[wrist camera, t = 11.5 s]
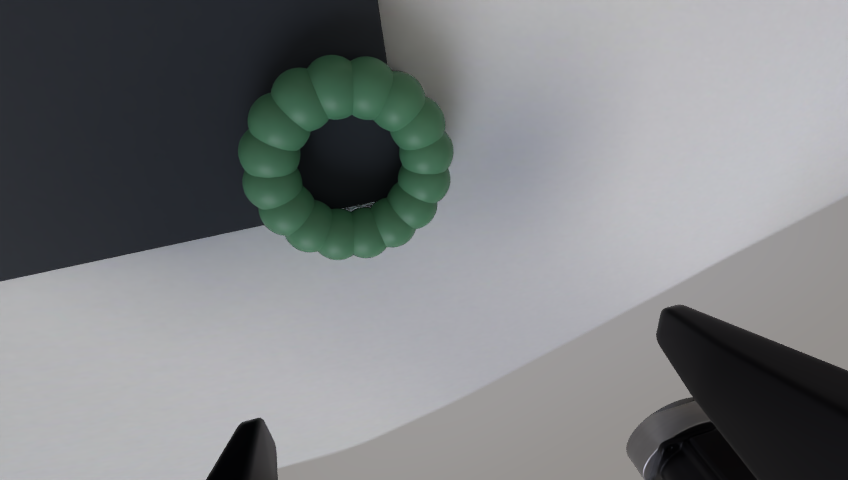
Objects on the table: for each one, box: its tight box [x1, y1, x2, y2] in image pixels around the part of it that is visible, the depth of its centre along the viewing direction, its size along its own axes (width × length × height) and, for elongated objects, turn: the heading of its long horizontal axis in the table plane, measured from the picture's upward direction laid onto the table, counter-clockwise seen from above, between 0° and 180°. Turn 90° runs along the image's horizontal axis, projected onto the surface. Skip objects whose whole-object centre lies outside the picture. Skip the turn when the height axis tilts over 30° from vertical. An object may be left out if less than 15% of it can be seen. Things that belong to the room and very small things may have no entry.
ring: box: [238, 55, 453, 260], centre depth 16 cm, size 8×8×2 cm
